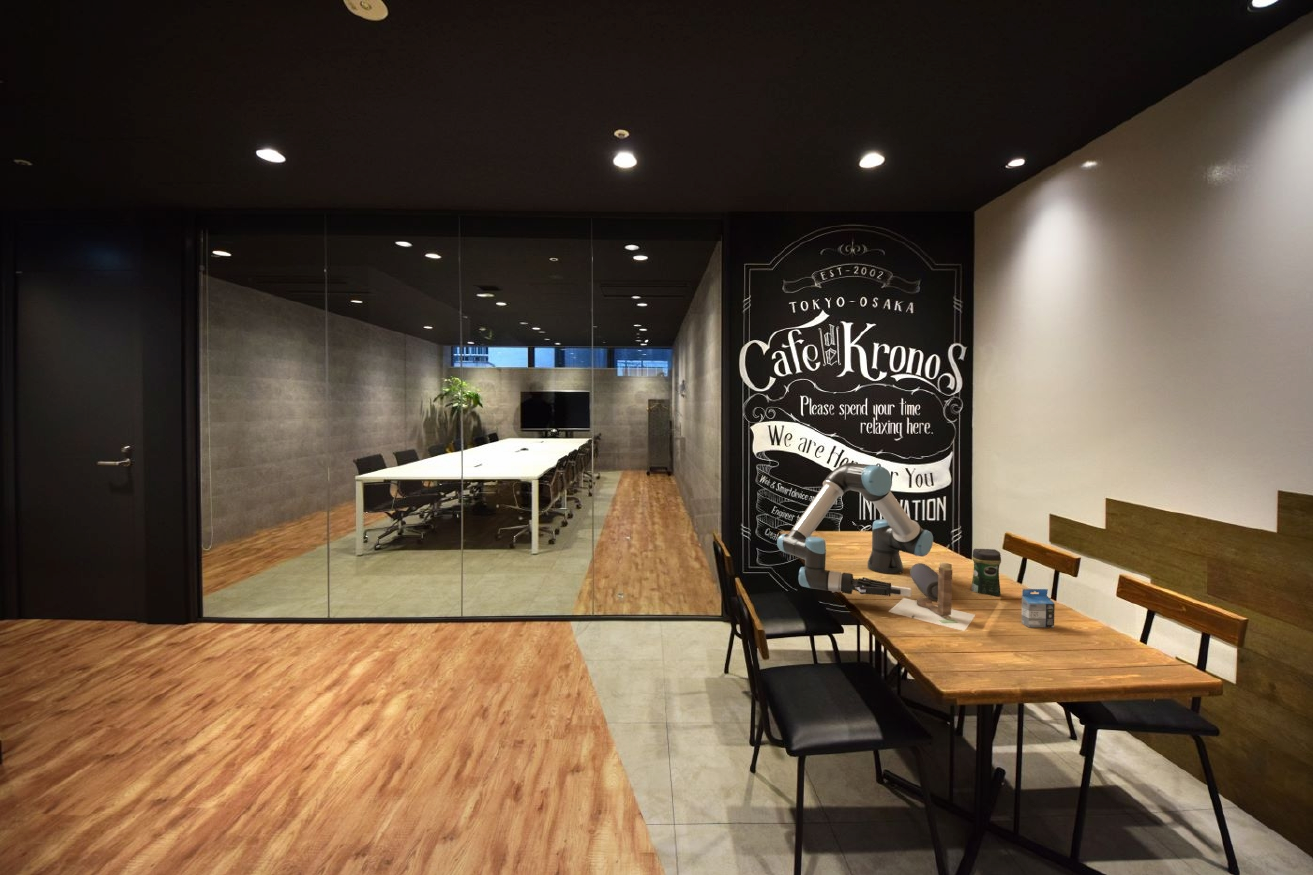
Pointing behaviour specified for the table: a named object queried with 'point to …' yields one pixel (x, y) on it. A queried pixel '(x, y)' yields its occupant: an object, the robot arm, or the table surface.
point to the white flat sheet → (932, 615)
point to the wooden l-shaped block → (941, 592)
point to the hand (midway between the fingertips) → (911, 592)
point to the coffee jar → (986, 572)
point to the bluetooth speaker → (925, 580)
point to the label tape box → (1037, 608)
